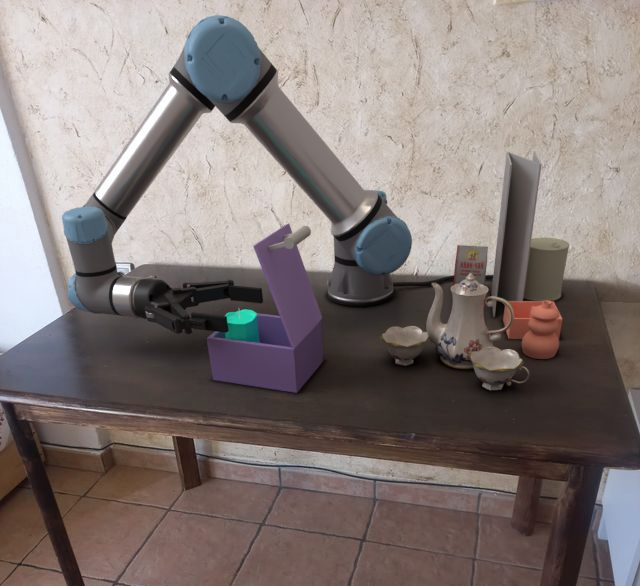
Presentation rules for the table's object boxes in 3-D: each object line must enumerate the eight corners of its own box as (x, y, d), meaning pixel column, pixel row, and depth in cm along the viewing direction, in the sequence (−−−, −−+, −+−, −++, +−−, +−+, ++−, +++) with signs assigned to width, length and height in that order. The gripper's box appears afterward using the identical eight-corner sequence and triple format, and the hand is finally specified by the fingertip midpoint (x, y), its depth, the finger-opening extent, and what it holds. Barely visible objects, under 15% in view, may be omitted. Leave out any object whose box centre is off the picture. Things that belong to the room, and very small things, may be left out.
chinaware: (367, 374, 114) (362, 291, 104) (406, 332, 125) (404, 254, 115) (518, 410, 101) (529, 320, 91) (547, 360, 112) (559, 274, 102)
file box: (213, 380, 112) (206, 338, 107) (244, 350, 121) (239, 311, 117) (297, 393, 106) (293, 349, 102) (323, 361, 116) (321, 320, 111)
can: (539, 305, 134) (548, 250, 127) (509, 292, 141) (516, 240, 134) (570, 295, 137) (579, 242, 131) (539, 284, 144) (546, 232, 138)
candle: (266, 361, 115) (259, 301, 108) (258, 377, 110) (251, 315, 103) (235, 360, 116) (226, 300, 109) (226, 376, 111) (217, 314, 104)
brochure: (520, 318, 129) (541, 164, 112) (493, 317, 130) (510, 164, 113) (516, 293, 140) (535, 151, 124) (491, 292, 141) (506, 151, 125)
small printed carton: (455, 284, 147) (458, 242, 141) (484, 286, 145) (488, 244, 139) (453, 290, 144) (456, 247, 138) (482, 292, 142) (487, 249, 136)
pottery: (503, 320, 128) (508, 274, 123) (550, 320, 127) (558, 274, 121) (514, 359, 113) (521, 309, 108) (568, 360, 112) (578, 309, 106)
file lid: (252, 245, 94) (282, 236, 92) (286, 224, 104) (313, 215, 102) (291, 347, 102) (320, 342, 99) (319, 318, 111) (346, 313, 109)
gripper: (182, 294, 127) (276, 303, 120) (107, 344, 108) (212, 359, 101) (176, 258, 123) (272, 266, 116) (96, 303, 104) (206, 316, 97)
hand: (245, 309), depth 109 cm, fingers open, 13 cm apart
